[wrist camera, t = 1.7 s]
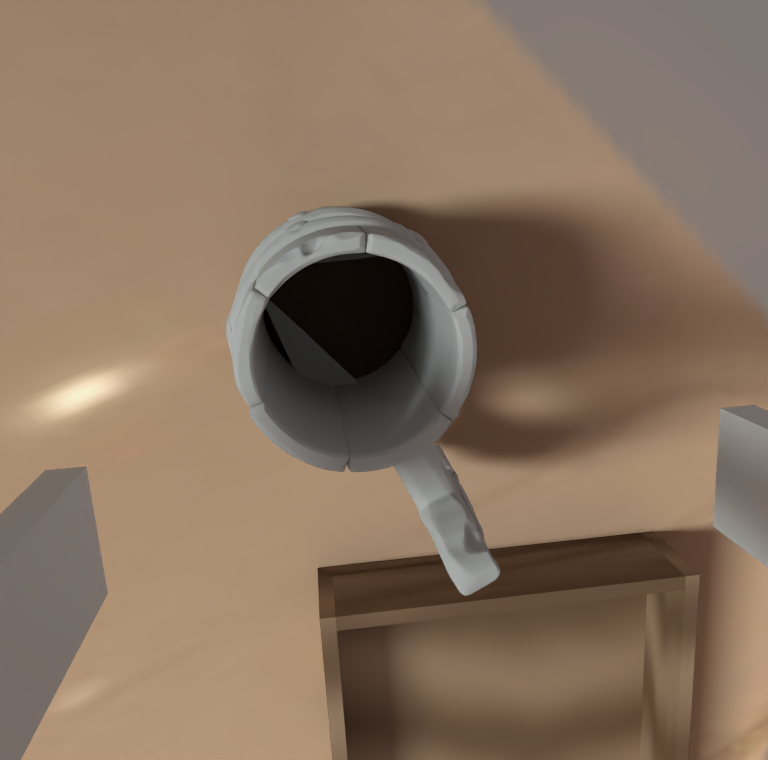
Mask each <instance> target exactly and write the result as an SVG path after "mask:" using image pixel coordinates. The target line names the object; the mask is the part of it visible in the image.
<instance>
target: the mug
mask: <svg viewBox="0 0 768 760" xmlns="http://www.w3.org/2000/svg"><path fill="white" fill-rule="evenodd" d="M379 256H382V257H386V258H389V259H392V260H394V261H397V262H399V263H400V264H401V266H402V267H403V269H404V271H405V272H406V273H407V274H408V275H407V277H408V281H409V283H410V286H411V290H412V295H413V317H412V322H411V325H410V329H409V332H408V334H407V336H406V338H405V340H404V341H403V343H402V344H401V349H400V350H398V351H397V352H396V353H395V354H394V356H393V357H392V358H391V359H390V360H389V361H388V362H387V363H386V364H385V365H383V366H382V367H381V368H379V369H378V370H376V371H374V372H372V373H370V374H368V375H365V376H363V377H359V378H356V379H354V378H353V377H352V376H351V375H350V374H349V373H348V372H347V371H346V370H345V369H344V368H343V367H341V366H340V365H339V364H338V363H337V362H336V361H335V360H334V359H333V358H332V357H331V356H330V355H329V354H327V353H326V352H325V351H324V350H323V349H322V348H321V347H320V346H319V345H318V344H317V343H316V342H315V341H314V340H312V339H311V338H310V337H309V336H308V335H307V334H306V333H305V332H304V331H303V330H302V329H301V328H300V327H298V326H297V325H296V324H295V323H294V322H293V321H292V320H291V319H290V318H289V317H288V316H287V315H286V314H285V313H283V312H282V311H281V310H280V309H279V308H278V307H277V306H276V305H275V304H274V303H273V302H272V301H271V300H269V298H270V297H271V296H272V295H273V294H274V293H275V292H276V291H277V290H278V289H279V288H280V287H281V286H282V284H284V283H285V282H286V281H287V280H288V279H289V278H290V277H291V276H293V275H294V274H295V273H297V272H298V271H300V270H301V269H303V268H305V267H306V266H308V265H310V264H316V263H325V262H334V261H343V260H352V259H361V258H370V257H379ZM465 304H466V300H465V297H464V295H463V294H462V292H461V290H460V289H459V288H458V286H457V285H456V283H455V281H454V279H453V277H452V275H451V273H450V271H449V270H448V269H447V267H446V266H445V264H444V263H443V262H442V261H441V259H440V258H439V257H438V256H437V254H436V253H435V252H434V251H433V250H432V249H431V247H430V246H428V243H427V241H426V240H425V239H424V238H423V237H422V236H421V235H420V234H418V233H417V232H415V231H413V230H410V229H406V228H405V227H404V226H403V225H401V224H399V223H394V222H393V221H391V220H389V219H387V218H385V217H383V216H381V215H379V214H376V213H374V212H371V211H367V210H364V209H359V208H353V207H321V208H318V209H315V210H312V211H309V212H299V213H297V214H295V215H293V216H291V217H290V218H289V219H288V221H286V222H284V223H283V224H281V225H280V226H278V227H277V228H276V229H274V230H273V231H272V232H270V233H269V234H268V235H267V236H266V237H265V238H264V239H263V240H262V242H261V243H260V244H259V245H258V247H257V248H256V249H255V251H254V252H253V254H252V255H251V257H250V259H249V260H248V262H247V264H246V266H245V268H244V271H243V273H242V276H241V279H240V283H239V287H238V291H237V293H236V296H235V299H234V302H233V306H232V309H231V312H230V315H229V316H228V318H227V323H226V333H227V339H228V344H229V348H230V352H231V357H232V362H233V369H234V376H235V380H236V385H237V388H238V390H239V392H240V394H241V395H242V397H243V398H244V400H245V402H246V403H247V404H249V405H250V417H251V418H252V420H253V421H254V422H255V424H256V425H257V426H258V427H259V429H260V430H261V431H262V432H263V433H264V434H265V435H266V437H267V438H268V439H269V440H270V441H272V442H273V443H274V444H275V445H276V446H278V447H279V448H281V449H282V450H283V451H285V452H286V453H288V454H290V455H291V456H293V457H295V458H297V459H299V460H301V461H303V462H305V463H308V464H311V465H313V466H315V467H318V468H322V469H326V470H331V471H339V472H344V470H345V468H346V465H347V464H348V468H349V470H350V471H351V472H367V471H375V470H380V469H384V468H388V467H391V466H394V467H395V469H396V471H397V472H398V474H399V476H400V478H401V479H402V481H403V483H404V485H405V486H406V488H407V490H408V492H409V493H410V495H411V497H412V498H413V500H414V502H415V504H416V505H417V507H418V512H419V515H420V517H421V519H422V521H423V523H424V525H425V526H426V528H427V529H428V531H429V533H430V535H431V537H432V539H433V541H434V545H435V547H436V548H437V550H438V552H439V554H440V557H441V559H442V561H443V563H444V565H445V567H446V570H447V572H448V574H449V576H450V578H451V579H452V581H453V582H454V584H455V586H456V587H457V589H458V590H459V592H460V593H461V594H463V595H465V596H467V595H470V594H472V593H474V592H476V591H478V590H479V589H481V588H483V587H485V586H486V585H488V584H490V583H491V582H493V581H494V580H496V579H497V578H498V576H499V574H500V568H499V566H498V564H497V562H496V561H495V559H494V558H493V557H492V555H491V554H490V552H489V550H488V547H487V545H486V543H485V541H484V534H483V531H482V528H481V526H480V524H479V522H478V519H477V517H476V515H475V512H474V509H473V507H472V505H471V503H470V501H469V499H468V497H467V495H466V493H465V491H464V489H463V488H462V486H461V484H460V483H459V479H458V476H457V474H456V472H455V471H454V470H453V468H452V467H451V465H450V463H449V461H448V459H447V458H446V456H445V454H444V452H443V451H442V449H441V447H440V446H439V445H433V444H434V443H435V442H436V441H437V440H438V439H439V438H440V437H441V436H442V435H443V434H444V433H445V431H446V430H447V429H448V427H449V425H450V424H451V419H452V420H453V419H456V418H457V417H458V415H459V409H460V407H461V406H462V404H463V403H464V401H465V400H466V398H467V396H468V394H469V391H470V388H471V385H472V381H473V378H474V373H475V369H476V363H477V338H476V331H475V325H474V321H473V317H472V314H471V311H470V309H469V307H468V306H466V305H465ZM265 307H266V310H267V312H268V314H269V316H270V318H271V320H272V322H273V324H274V327H275V329H276V331H277V333H278V335H279V337H280V339H281V342H282V344H283V346H284V348H285V350H286V352H287V354H288V356H289V359H290V361H291V363H292V364H290V363H289V362H288V361H287V360H286V359H285V358H284V357H283V356H282V355H281V354H280V352H279V351H278V350H277V348H276V347H275V345H274V343H273V342H272V341H270V336H269V333H268V331H267V328H266V325H265V322H264V316H263V311H264V309H265Z"/></svg>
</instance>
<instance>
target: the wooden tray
mask: <svg viewBox="0 0 768 760" xmlns="http://www.w3.org/2000/svg"><path fill="white" fill-rule="evenodd" d="M489 552H490V554H491V555H492V557H493V558H494V559H495V561H496V562H497V564H498V566H499V568H500V574H499V576H498V578H497V579H496V580H494V581H493V582H491V583H490V584H488V585H486V586H485V587H483V588H481V589H479V590H478V591H476V592H474V593H472V594H470V595H467V596H465V595H463V594H461V593H460V592H459V590H458V589H457V587H456V586H455V584H454V582H453V581H452V579H451V578H450V576H449V574H448V572H447V570H446V567H445V565H444V563H443V561H442V559H441V557H440V555H436V556H427V557H417V558H408V559H399V560H390V561H381V562H372V563H362V564H353V565H344V566H335V567H326V568H318V588H319V613H320V628H321V639H322V650H323V661H324V672H325V683H326V694H327V705H328V716H329V727H330V738H331V749H332V760H688V757H689V741H690V725H691V710H692V694H693V678H694V662H695V646H696V630H697V615H698V599H699V583H700V574H699V573H698V572H696V571H695V570H694V569H693V568H692V567H691V566H690V565H689V564H688V563H687V562H686V561H684V560H683V559H682V558H681V557H680V556H679V555H678V554H677V553H676V552H675V551H674V550H672V549H671V548H670V547H669V546H668V545H667V544H666V543H665V542H664V541H663V540H662V539H660V538H659V537H658V536H657V535H656V534H655V533H654V532H647V533H637V534H628V535H619V536H610V537H601V538H592V539H582V540H573V541H564V542H555V543H546V544H537V545H527V546H518V547H509V548H500V549H491V550H489Z"/></svg>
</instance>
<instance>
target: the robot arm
mask: <svg viewBox="0 0 768 760" xmlns="http://www.w3.org/2000/svg"><path fill="white" fill-rule="evenodd" d="M713 527H714V528H716V529H717V530H718V531H720V532H721V533H722V534H724V535H725V536H726V537H728V538H729V539H730V540H732V541H733V542H734V543H736V544H737V545H738V546H740V547H741V548H742V549H744V550H745V551H746V552H748V553H749V554H750V555H752V556H753V557H754V558H756V559H757V560H758V561H760V562H761V563H762V564H764V565H765V566H766V567H768V411H767V410H765V409H762V408H760V407H757V406H755V405H749V406H738V407H727V408H720V421H719V437H718V454H717V471H716V487H715V504H714V520H713ZM107 594H108V592H107V586H106V580H105V574H104V568H103V562H102V557H101V551H100V545H99V539H98V533H97V527H96V521H95V516H94V510H93V504H92V498H91V492H90V486H89V480H88V475H87V469H86V467H77V468H66V469H55V470H45V471H44V472H43V473H42V474H41V475H40V476H39V477H38V478H37V479H36V480H35V481H34V482H33V483H32V484H31V485H30V486H29V487H28V488H27V489H26V490H25V491H24V492H23V493H22V494H21V495H20V496H19V497H17V498H16V499H15V500H14V501H13V502H12V503H11V504H10V505H9V506H8V507H7V508H6V509H5V510H4V511H3V512H2V513H1V514H0V760H21V758H22V756H23V754H24V752H25V750H26V748H27V747H28V745H29V743H30V741H31V739H32V737H33V735H34V733H35V731H36V729H37V727H38V726H39V724H40V722H41V720H42V718H43V716H44V714H45V712H46V710H47V708H48V706H49V705H50V703H51V701H52V699H53V697H54V695H55V693H56V691H57V689H58V687H59V685H60V684H61V682H62V680H63V678H64V676H65V674H66V672H67V670H68V668H69V666H70V664H71V662H72V661H73V659H74V657H75V655H76V653H77V651H78V649H79V647H80V645H81V643H82V641H83V640H84V638H85V636H86V634H87V632H88V630H89V628H90V626H91V624H92V622H93V620H94V619H95V617H96V615H97V613H98V611H99V609H100V607H101V605H102V603H103V601H104V599H105V598H106V596H107Z"/></svg>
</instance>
